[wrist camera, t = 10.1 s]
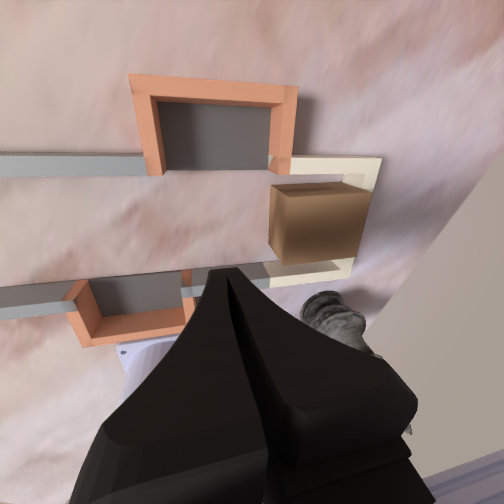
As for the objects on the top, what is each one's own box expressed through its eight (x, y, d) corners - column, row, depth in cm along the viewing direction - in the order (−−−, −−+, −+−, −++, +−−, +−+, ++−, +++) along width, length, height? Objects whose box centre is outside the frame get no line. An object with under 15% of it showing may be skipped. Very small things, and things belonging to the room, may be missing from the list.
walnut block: (329, 236, 20) (356, 257, 17) (267, 242, 19) (283, 266, 16) (339, 181, 18) (372, 192, 15) (270, 184, 17) (288, 197, 13)
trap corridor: (327, 292, 24) (340, 308, 21) (21, 333, 18) (-3, 361, 16) (371, 100, 16) (400, 94, 13) (-159, 62, 10) (-257, 42, 8)
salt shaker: (345, 281, 23) (462, 396, 13) (345, 319, 26) (440, 437, 16) (294, 298, 23) (375, 431, 13) (299, 334, 26) (368, 467, 16)
